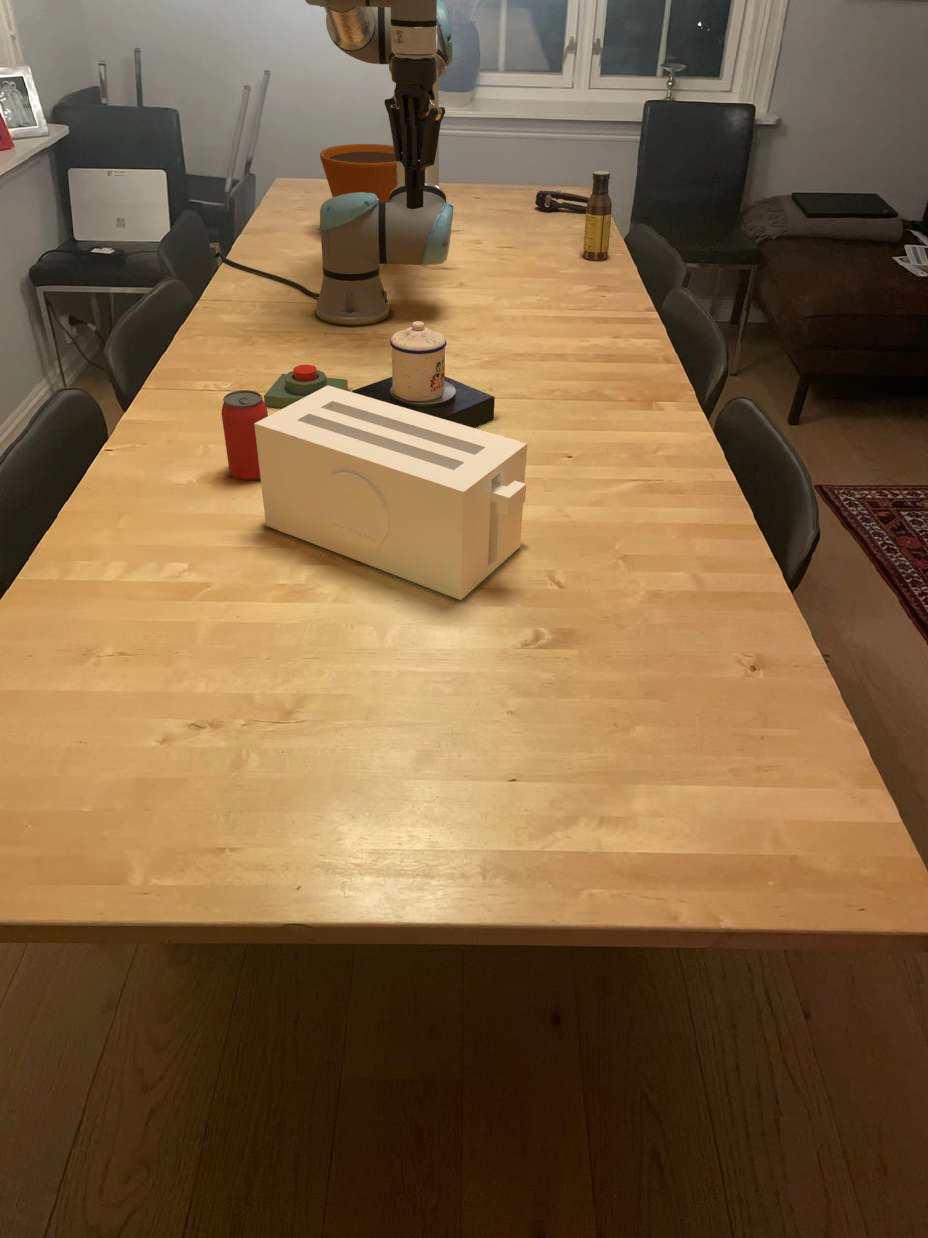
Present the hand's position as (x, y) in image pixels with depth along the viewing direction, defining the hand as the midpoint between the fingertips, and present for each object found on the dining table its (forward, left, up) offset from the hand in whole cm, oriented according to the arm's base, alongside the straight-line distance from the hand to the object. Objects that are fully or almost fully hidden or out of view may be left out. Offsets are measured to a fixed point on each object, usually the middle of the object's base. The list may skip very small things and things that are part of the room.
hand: (415, 207), depth 172 cm
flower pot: (-67, +46, -27) cm, 86 cm away
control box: (+4, -30, -26) cm, 40 cm away
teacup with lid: (+22, -20, -22) cm, 37 cm away
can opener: (-51, +106, -27) cm, 120 cm away
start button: (+4, -30, -23) cm, 38 cm away
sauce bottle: (-16, +76, -27) cm, 82 cm away
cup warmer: (+23, -20, -26) cm, 40 cm away
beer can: (+20, -53, -27) cm, 62 cm away
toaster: (+50, -50, -27) cm, 75 cm away
